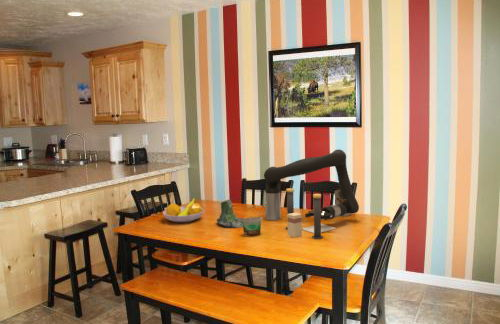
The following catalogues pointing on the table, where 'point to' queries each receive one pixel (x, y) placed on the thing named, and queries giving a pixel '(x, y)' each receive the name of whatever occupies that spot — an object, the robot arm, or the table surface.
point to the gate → (316, 211)
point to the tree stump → (229, 216)
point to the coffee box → (340, 200)
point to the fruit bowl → (183, 212)
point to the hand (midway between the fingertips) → (310, 217)
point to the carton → (294, 224)
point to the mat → (323, 228)
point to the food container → (251, 226)
